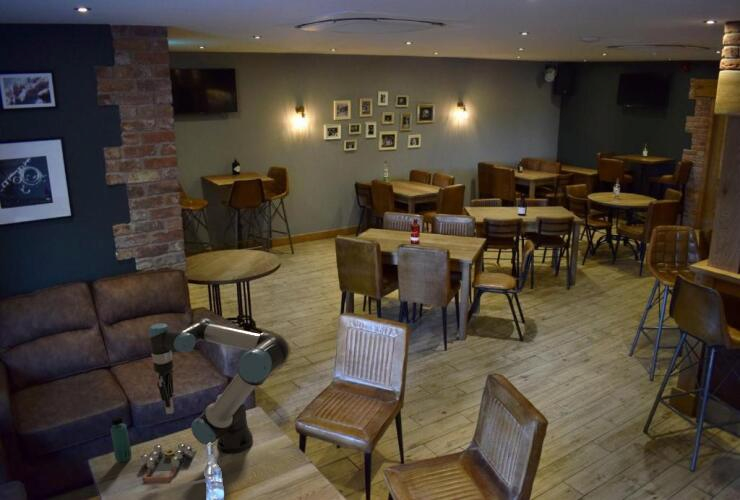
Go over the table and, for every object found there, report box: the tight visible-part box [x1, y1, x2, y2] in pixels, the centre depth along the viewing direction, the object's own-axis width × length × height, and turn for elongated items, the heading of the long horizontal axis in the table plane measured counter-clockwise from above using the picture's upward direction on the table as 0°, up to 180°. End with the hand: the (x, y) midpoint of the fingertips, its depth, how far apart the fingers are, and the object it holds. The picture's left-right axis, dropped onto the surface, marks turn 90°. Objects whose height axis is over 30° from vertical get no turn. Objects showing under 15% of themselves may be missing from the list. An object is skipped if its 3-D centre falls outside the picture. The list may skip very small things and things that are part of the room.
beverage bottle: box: [110, 415, 132, 463], centre depth 241 cm, size 6×7×20 cm
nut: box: [164, 448, 176, 460], centre depth 242 cm, size 4×5×3 cm
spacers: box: [140, 443, 194, 473], centre depth 238 cm, size 19×12×5 cm, turn 91°
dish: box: [142, 467, 177, 483], centre depth 230 cm, size 11×6×3 cm, turn 91°
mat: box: [138, 450, 198, 473], centre depth 240 cm, size 20×13×1 cm, turn 91°
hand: (170, 412), depth 244 cm, fingers closed
